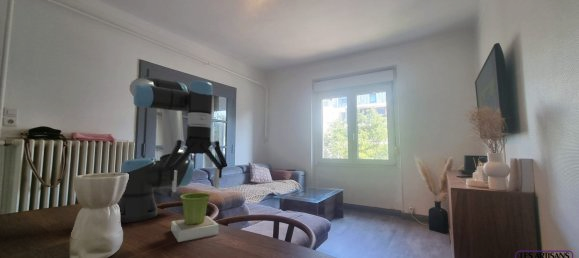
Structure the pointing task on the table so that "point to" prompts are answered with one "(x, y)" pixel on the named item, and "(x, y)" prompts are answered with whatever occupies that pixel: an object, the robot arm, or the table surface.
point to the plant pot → (194, 207)
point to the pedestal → (194, 229)
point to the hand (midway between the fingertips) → (196, 189)
